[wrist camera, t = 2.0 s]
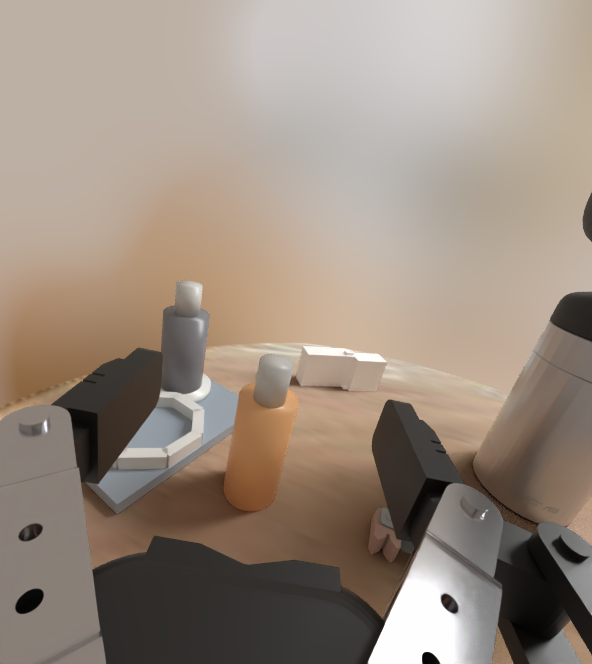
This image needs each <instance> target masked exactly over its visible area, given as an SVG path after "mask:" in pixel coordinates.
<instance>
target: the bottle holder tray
mask: <svg viewBox="0 0 592 664" xmlns="http://www.w3.org/2000/svg"><path fill="white" fill-rule="evenodd" d="M201 295H202V285H201V284H199V283H197V282H193V281H178V282H177V283H176V296H175V306H170V307H167V308H165V309H164V311H163V328H162V342H161V343H162V344H161V353H162V354H163V365H162V379H161V391H160V396H159V400H158V403H157V405H156V407H155V409H154V410H153V411H152V413H151V414H150V415H149V417H148V418H147V419H146V421H145V422H144V423H143V425H142V426H141V428H140V429H139V430H138V432H137V433H136V434H135V436H134V437H133V438H132V440H131V441H130V442H129V444H128V445H127V446H126V448H125V449H124V450H123V452H122V453H121V454H120V456H119V457H118V458H117V460H116V461H115V463H114V464H113V465H112V467H111V468H110V469H109V471H108V472H107V473H106V475H105V476H104V477H103V479H102V480H101V481H100V483H99V484H94V483H88V482H85V483H86V484H87V485H88V486H89V487H90V488H91V489H92V490H93V491H94V492H95V493H96V494H97V495H98V496H99V497H100V498H101V499H102V500H103V501H104V502H105V503H106V504H107V505H108V506H109V507H110V508H111V509H112V510H113V511H114V512H115V513H116V514H118V513H120V512H121V511H123V510H124V509H126V508H127V507H128V506H130V505H131V504H133V503H134V502H135V501H137V500H138V499H140V498H141V497H142V496H144V495H145V494H147V493H148V492H149V491H151V490H152V489H154V488H155V487H156V486H158V485H159V484H161V483H162V482H163V481H165V480H166V479H168V478H169V477H170V476H172V475H173V474H175V473H176V472H177V471H179V470H180V469H182V468H183V467H185V466H186V465H187V464H189V463H190V462H192V461H193V460H194V459H196V458H197V457H199V456H200V455H201V454H203V453H204V452H206V451H207V450H208V449H210V448H211V447H213V446H214V445H215V444H217V443H218V442H220V441H221V440H222V439H224V438H225V437H227V436H228V435H229V434H231V433H232V432H233V427H234V422H235V416H236V410H237V404H238V398H239V396H238V395H237V394H235V393H233V392H232V391H230V390H228V389H227V388H225V387H223V386H221V385H220V384H218V383H216V382H215V381H213V380H211V379H209V378H208V377H207V376H206V375H205V374H204V373H203V369H204V360H205V352H206V343H207V335H208V334H207V333H208V326H209V318H210V315H209V313H208V312H207V311H205V310H203V309H201V308H200V305H201Z"/></svg>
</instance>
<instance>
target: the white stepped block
mask: <svg viewBox="0 0 592 664" xmlns="http://www.w3.org/2000/svg"><path fill="white" fill-rule="evenodd" d="M386 364H387V362H386V361H385V360H384V359H383V358H382V357H381V356H380V355H379V354H367V353H353V352H352V351H351V350H348V349H341V348H325V347H308V346H303V348H302V352H301V356H300V360H299V364H298V369H297V373H296V378H297V380H298V382H299V384H300V386H341V387H342V388H343V390H348V391H377V389H378V386H379V383H380V380H381V378H382V375H383V372H384V369H385V366H386Z"/></svg>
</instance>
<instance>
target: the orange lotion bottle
mask: <svg viewBox="0 0 592 664" xmlns="http://www.w3.org/2000/svg"><path fill="white" fill-rule="evenodd" d="M293 367H294V364H293V362H292V361H291V360H290V359H288V358H286V357H284V356H281V355H276V354H267V355H264V356H262V357H261V358H260V362H259V367H258V372H257V377H256V382H254V383H250V384H248V385H246V386H244V387H243V388H242V389H241V391H240V393H239V398H238V404H237V410H236V416H235V422H234V427H233V433H232V439H231V445H230V451H229V457H228V462H227V468H226V474H225V480H224V486H223V490H224V495H225V497H226V499H227V500H228V502H229V503H230V504H231V505H233V506H234V507H236V508H238V509H240V510H243V511H249V512H253V511H259V510H262V509H264V508H266V507H267V506H269V505H270V504H271V503H272V501H273V500H274V498H275V495H276V491H277V488H278V484H279V480H280V476H281V472H282V468H283V464H284V460H285V456H286V453H287V449H288V445H289V441H290V437H291V433H292V429H293V425H294V422H295V418H296V414H297V410H298V406H299V401H298V398H297V397H296V395H295V394H294V393H293V392H292V391H291V390H289V384H290V380H291V376H292V372H293Z"/></svg>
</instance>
